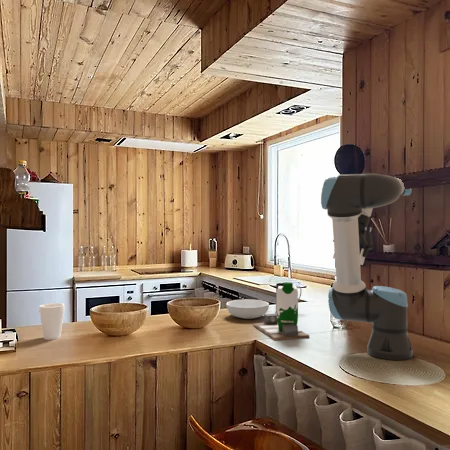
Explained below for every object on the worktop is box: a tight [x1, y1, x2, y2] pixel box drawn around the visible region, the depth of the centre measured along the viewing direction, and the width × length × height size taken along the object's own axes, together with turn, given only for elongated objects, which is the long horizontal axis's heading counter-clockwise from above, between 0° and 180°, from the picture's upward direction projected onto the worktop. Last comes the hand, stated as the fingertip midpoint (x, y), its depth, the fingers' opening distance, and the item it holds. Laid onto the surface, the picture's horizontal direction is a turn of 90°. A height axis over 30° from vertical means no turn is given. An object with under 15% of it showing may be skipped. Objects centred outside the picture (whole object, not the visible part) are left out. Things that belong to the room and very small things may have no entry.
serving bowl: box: [225, 298, 270, 320], centre depth 220 cm, size 21×21×7 cm
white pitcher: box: [274, 282, 302, 315], centre depth 229 cm, size 9×14×15 cm, turn 107°
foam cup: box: [38, 302, 66, 341], centre depth 180 cm, size 10×9×13 cm
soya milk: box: [276, 282, 299, 332], centre depth 188 cm, size 9×9×20 cm
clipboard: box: [252, 313, 310, 341], centre depth 191 cm, size 25×15×5 cm, turn 16°
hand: (347, 261), depth 194 cm, fingers open, 13 cm apart
